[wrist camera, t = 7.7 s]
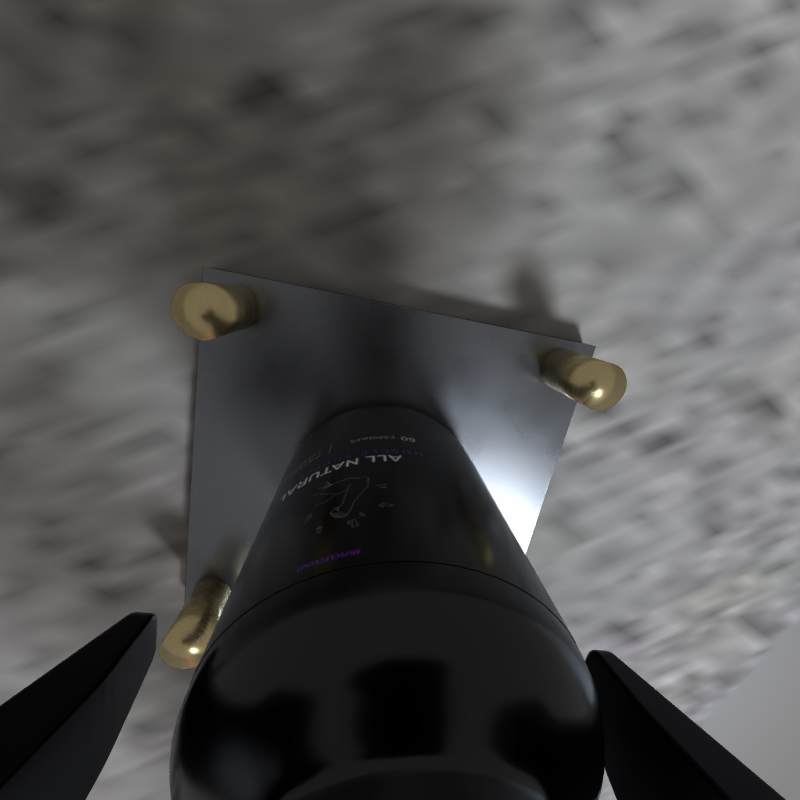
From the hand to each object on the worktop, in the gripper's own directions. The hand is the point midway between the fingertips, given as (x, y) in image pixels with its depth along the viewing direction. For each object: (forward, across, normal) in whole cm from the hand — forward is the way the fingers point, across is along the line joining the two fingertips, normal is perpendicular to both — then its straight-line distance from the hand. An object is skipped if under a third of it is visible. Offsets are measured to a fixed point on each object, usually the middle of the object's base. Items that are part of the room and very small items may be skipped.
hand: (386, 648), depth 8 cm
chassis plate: (+7, 0, 0) cm, 7 cm away
